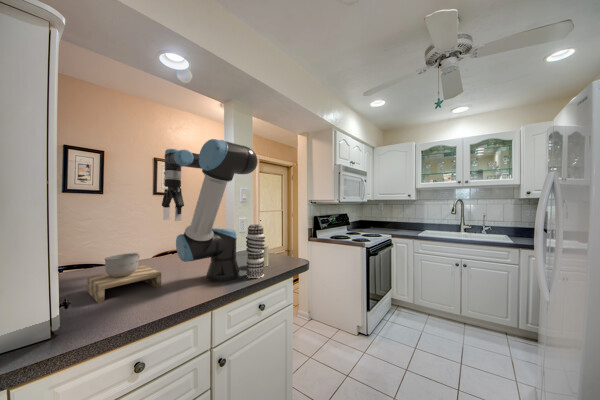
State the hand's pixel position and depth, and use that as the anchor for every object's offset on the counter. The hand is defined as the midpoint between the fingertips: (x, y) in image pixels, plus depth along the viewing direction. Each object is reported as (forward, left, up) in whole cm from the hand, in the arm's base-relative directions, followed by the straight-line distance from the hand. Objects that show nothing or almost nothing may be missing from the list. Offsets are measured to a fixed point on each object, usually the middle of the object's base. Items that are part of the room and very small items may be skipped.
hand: (172, 220), depth 116 cm
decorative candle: (-40, -22, -27) cm, 53 cm away
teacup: (-10, +22, -21) cm, 32 cm away
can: (-28, -36, -27) cm, 53 cm away
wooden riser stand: (-10, +22, -27) cm, 36 cm away
